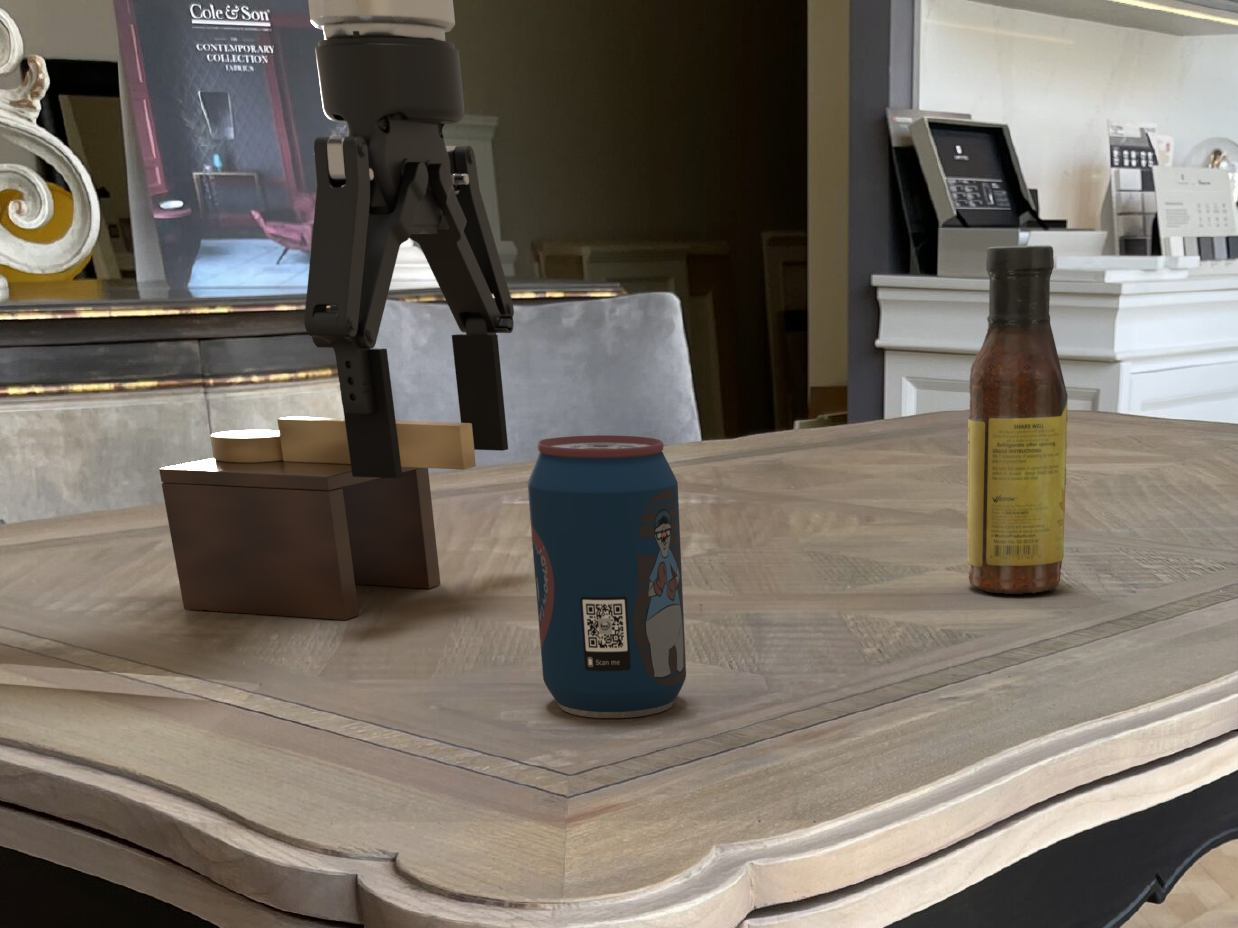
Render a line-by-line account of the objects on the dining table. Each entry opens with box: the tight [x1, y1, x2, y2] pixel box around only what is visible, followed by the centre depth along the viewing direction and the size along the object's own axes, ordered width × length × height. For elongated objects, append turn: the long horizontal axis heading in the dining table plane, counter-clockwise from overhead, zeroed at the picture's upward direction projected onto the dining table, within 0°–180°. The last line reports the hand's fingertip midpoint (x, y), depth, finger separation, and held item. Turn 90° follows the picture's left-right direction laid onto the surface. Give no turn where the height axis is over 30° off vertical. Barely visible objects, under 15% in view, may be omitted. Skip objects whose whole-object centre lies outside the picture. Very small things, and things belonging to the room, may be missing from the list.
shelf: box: [159, 457, 442, 621], centre depth 105 cm, size 11×12×8 cm
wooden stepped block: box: [210, 415, 477, 471], centre depth 102 cm, size 17×5×2 cm, turn 75°
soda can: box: [527, 434, 687, 719], centre depth 81 cm, size 7×7×12 cm
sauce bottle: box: [967, 244, 1069, 595], centre depth 106 cm, size 7×6×20 cm
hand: (435, 463), depth 101 cm, fingers open, 13 cm apart
